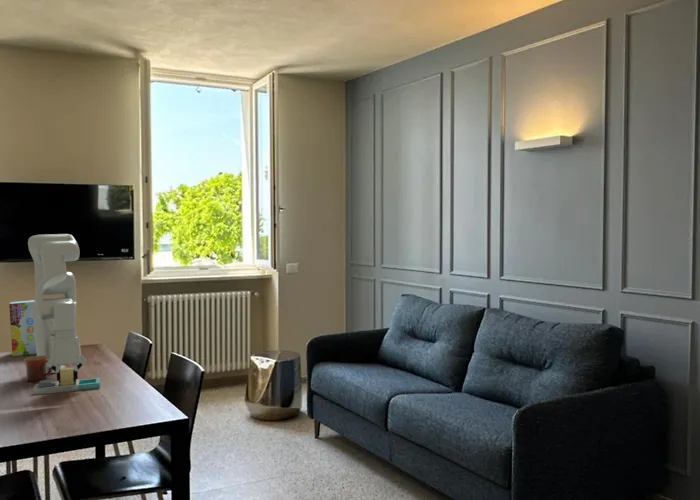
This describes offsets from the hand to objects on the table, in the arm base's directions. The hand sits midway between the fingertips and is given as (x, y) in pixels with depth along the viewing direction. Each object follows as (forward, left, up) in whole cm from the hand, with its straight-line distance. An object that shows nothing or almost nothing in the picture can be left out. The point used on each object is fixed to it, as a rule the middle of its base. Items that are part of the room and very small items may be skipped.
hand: (67, 381), depth 249 cm
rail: (0, 0, -4) cm, 4 cm away
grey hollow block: (-7, -3, -3) cm, 8 cm away
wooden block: (0, 0, -3) cm, 3 cm away
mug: (-19, +10, -4) cm, 22 cm away
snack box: (-59, +63, -4) cm, 86 cm away
